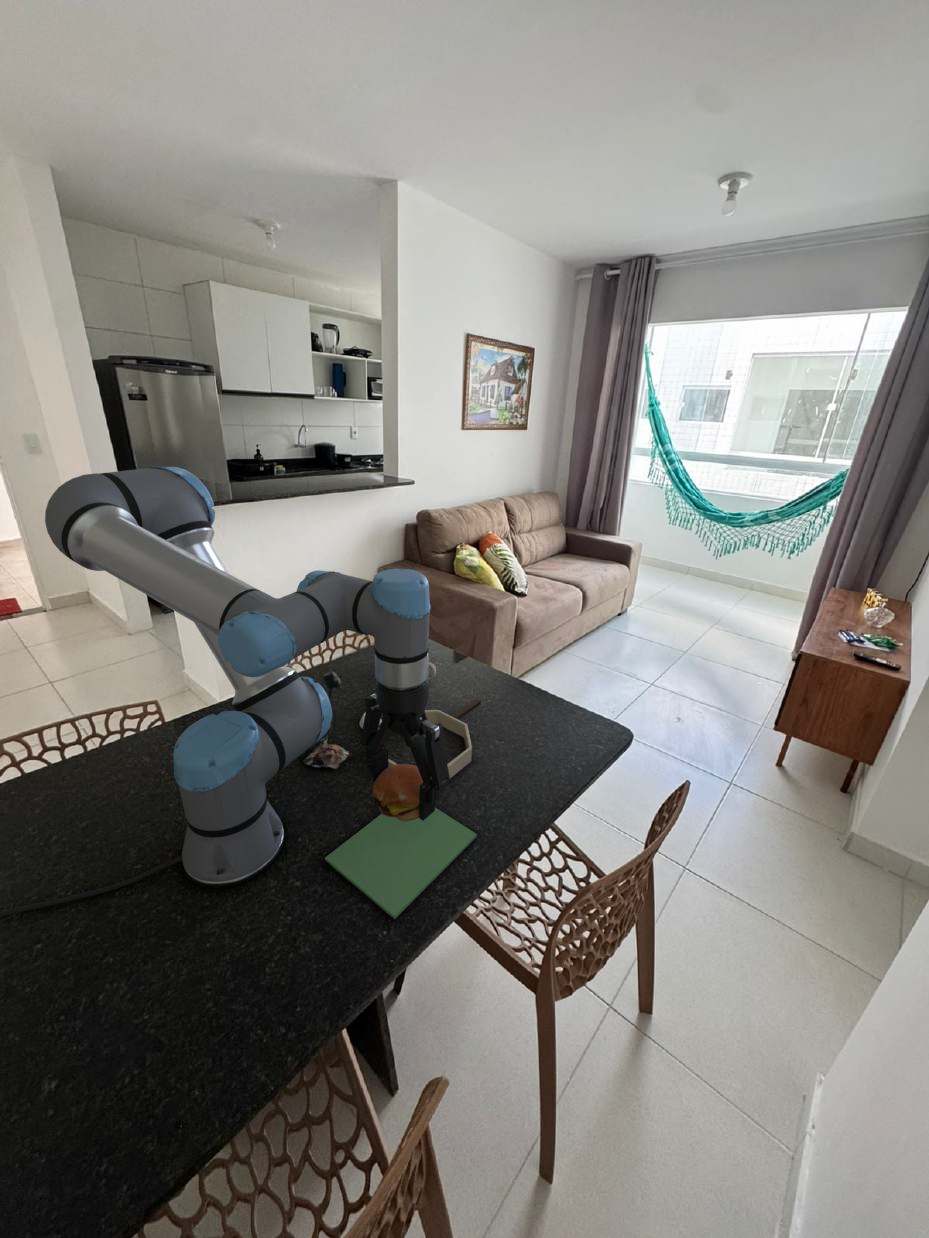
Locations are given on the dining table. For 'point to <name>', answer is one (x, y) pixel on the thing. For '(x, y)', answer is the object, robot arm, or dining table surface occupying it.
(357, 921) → the dining table surface
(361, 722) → the white upturned bowl
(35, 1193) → the dining table surface
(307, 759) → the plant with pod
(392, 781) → the burger
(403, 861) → the napkin mat
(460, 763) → the pan
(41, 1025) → the dining table surface
